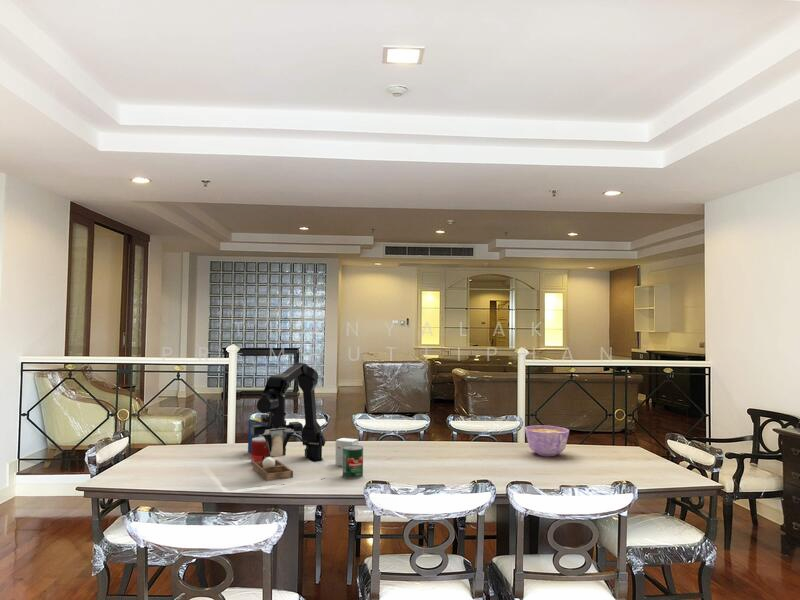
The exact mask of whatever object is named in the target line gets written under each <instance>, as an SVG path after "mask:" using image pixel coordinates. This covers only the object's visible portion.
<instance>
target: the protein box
mask: <svg viewBox="0 0 800 600" xmlns="http://www.w3.org/2000/svg"><path fill="white" fill-rule="evenodd" d="M260 424H261V425H263V426H266V423H263V424H262V423H261V416H260V417H254V418H253V417H251V418H248V431H247V432H248V435H247V439H248V440H247V453H248V454H251V447H252V439H253V438H256V437H264V436H262V435H254V434H252V433H251V426H252V425H260ZM285 424H286V425H287V420H286V419H285ZM282 431H284V430H277V431H270V434H271V437H272V436H273V435H275V434H280V435H281V436H282V437H283V432H282ZM286 449H287V446H286V447H285V449H284V451H283V455H282V456H285V455H286V454H287V450H286ZM271 457H272V458H274V457H273V456H271Z"/></svg>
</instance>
